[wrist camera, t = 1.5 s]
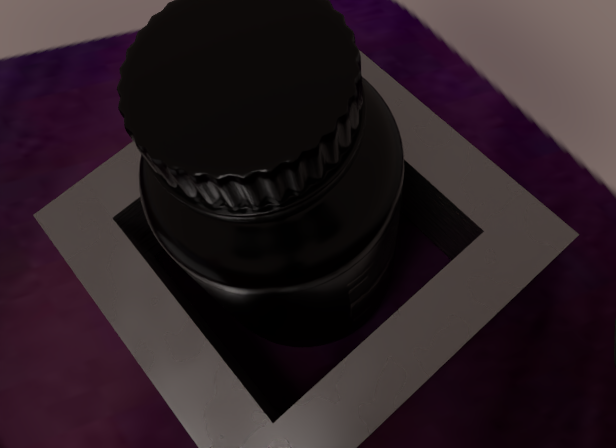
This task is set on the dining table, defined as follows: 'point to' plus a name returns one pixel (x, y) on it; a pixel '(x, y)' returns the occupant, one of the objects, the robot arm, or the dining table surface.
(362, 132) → the supplement bottle
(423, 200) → the housing
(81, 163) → the dining table surface
